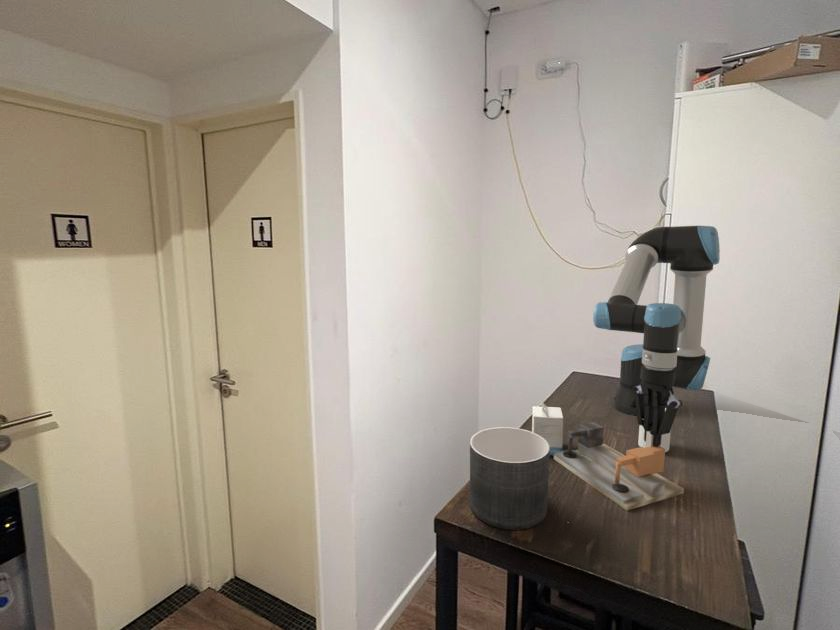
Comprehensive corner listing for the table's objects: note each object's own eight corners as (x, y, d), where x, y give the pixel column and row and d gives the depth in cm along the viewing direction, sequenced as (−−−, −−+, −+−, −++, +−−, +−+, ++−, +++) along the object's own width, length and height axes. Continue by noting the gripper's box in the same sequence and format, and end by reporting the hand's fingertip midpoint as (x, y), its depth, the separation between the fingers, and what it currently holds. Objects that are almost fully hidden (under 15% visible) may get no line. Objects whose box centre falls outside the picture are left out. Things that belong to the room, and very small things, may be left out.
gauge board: (603, 447, 131) (605, 417, 130) (683, 493, 107) (686, 457, 106) (553, 459, 125) (555, 427, 123) (626, 510, 101) (629, 472, 99)
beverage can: (634, 448, 130) (637, 410, 128) (643, 439, 136) (645, 402, 134) (664, 457, 125) (668, 417, 123) (672, 447, 131) (675, 409, 129)
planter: (466, 485, 113) (467, 427, 110) (537, 485, 112) (539, 426, 109) (473, 530, 95) (473, 462, 92) (556, 531, 94) (559, 463, 92)
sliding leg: (652, 467, 114) (654, 443, 113) (666, 475, 110) (668, 450, 109) (609, 479, 109) (610, 454, 108) (622, 487, 105) (623, 461, 104)
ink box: (562, 457, 126) (564, 412, 124) (532, 454, 128) (533, 410, 126) (559, 443, 134) (561, 401, 132) (531, 441, 136) (532, 399, 134)
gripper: (625, 361, 114) (620, 447, 118) (670, 375, 102) (662, 470, 106) (647, 358, 116) (641, 442, 120) (693, 371, 104) (685, 464, 108)
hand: (651, 455), depth 113 cm, fingers closed
